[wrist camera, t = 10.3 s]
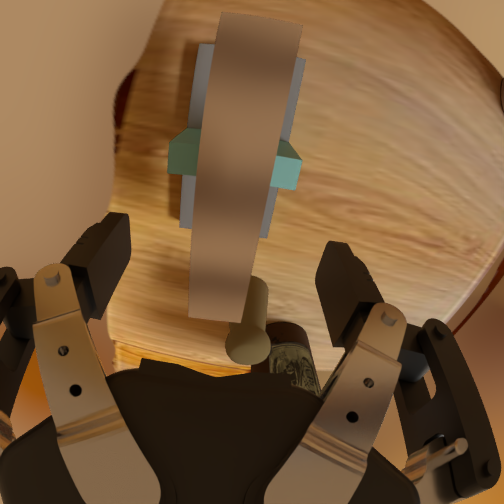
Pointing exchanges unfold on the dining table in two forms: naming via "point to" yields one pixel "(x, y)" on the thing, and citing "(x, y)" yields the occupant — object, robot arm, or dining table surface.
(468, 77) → the dining table surface
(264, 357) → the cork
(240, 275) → the walnut bar
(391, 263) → the dining table surface
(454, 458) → the robot arm
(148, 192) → the dining table surface
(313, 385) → the olive oil
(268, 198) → the balance stand
